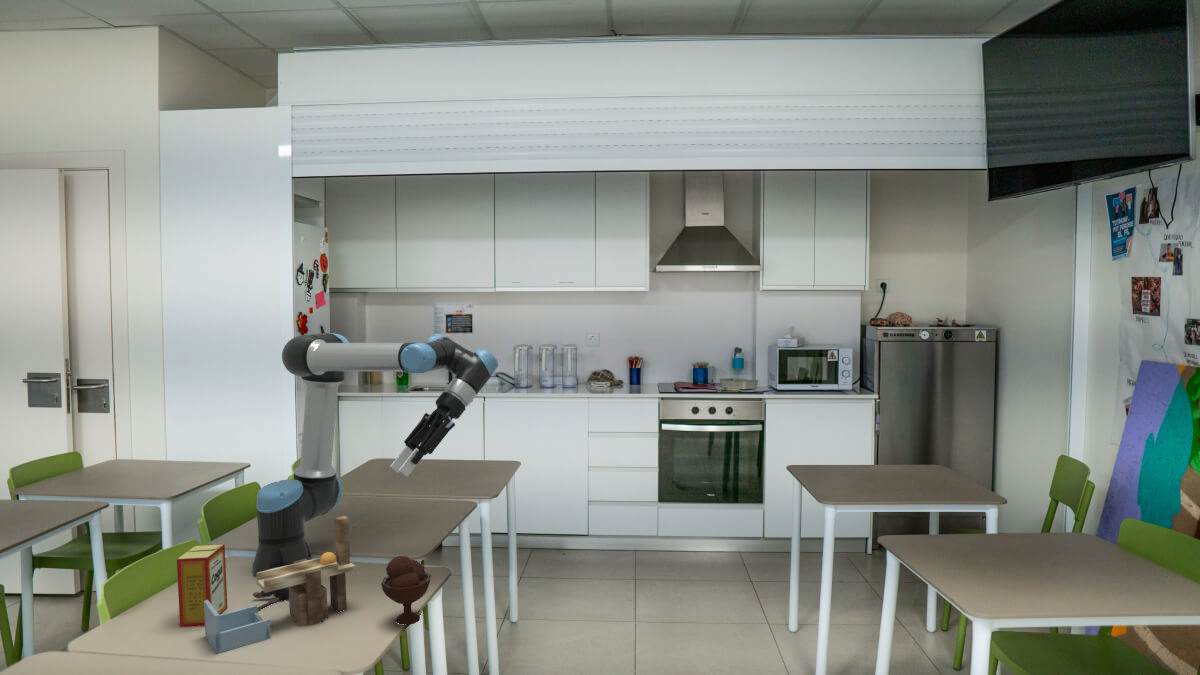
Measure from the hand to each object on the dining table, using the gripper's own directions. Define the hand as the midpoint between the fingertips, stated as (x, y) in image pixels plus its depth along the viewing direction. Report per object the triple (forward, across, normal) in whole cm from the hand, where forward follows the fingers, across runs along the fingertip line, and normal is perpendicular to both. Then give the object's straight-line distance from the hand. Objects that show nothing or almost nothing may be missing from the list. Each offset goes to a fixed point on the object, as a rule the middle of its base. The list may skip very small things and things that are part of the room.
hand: (398, 471), depth 181 cm
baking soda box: (+51, +17, +8) cm, 54 cm away
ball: (+26, 0, 0) cm, 26 cm away
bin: (+48, 0, +6) cm, 49 cm away
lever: (+31, 0, +2) cm, 31 cm away
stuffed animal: (+40, +16, -4) cm, 43 cm away
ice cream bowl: (+26, -18, -17) cm, 36 cm away
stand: (+36, 0, -7) cm, 37 cm away
